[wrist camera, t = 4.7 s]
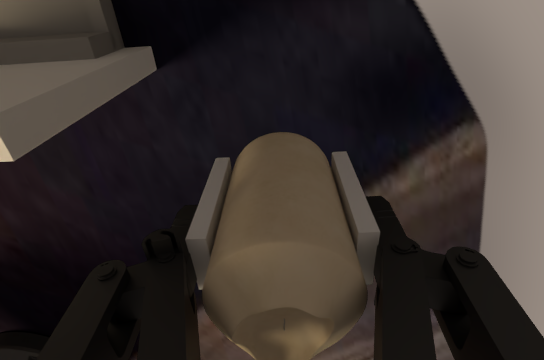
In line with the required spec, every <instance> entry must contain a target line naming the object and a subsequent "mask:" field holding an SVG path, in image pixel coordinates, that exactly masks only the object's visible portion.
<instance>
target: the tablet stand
mask: <svg viewBox="0 0 544 360" xmlns="http://www.w3.org/2000/svg"><path fill="white" fill-rule="evenodd" d="M156 70H157V68H156V64H155V60H154V56H153V52H152V48H151V46H144V47H129V48H125V46H124V43H123V40H122V36H121V33H120V29H119V26H118V22H117V19H116V16H115V12H114V9H113V5H112V2H111V0H0V162H6V161H15V160H17V159H18V158H20V157H21V156H23V155H24V154H26V153H28V152H29V151H31V150H32V149H34V148H35V147H37V146H38V145H40V144H42V143H43V142H45V141H46V140H48V139H49V138H51V137H53V136H54V135H56V134H57V133H59V132H60V131H62V130H63V129H65V128H67V127H68V126H70V125H71V124H73V123H74V122H76V121H78V120H79V119H81V118H82V117H84V116H85V115H87V114H88V113H90V112H92V111H93V110H95V109H96V108H98V107H99V106H101V105H103V104H104V103H106V102H107V101H109V100H110V99H112V98H113V97H115V96H117V95H118V94H120V93H121V92H123V91H124V90H126V89H128V88H129V87H131V86H132V85H134V84H135V83H137V82H138V81H140V80H142V79H143V78H145V77H146V76H148V75H149V74H151V73H153V72H154V71H156Z"/></svg>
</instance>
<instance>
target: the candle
mask: <svg viewBox="0 0 544 360" xmlns="http://www.w3.org/2000/svg"><path fill="white" fill-rule="evenodd" d="M367 294H368V292H367V287H366V283H365V279H364V276H363V273H362V269H361V266H360V263H359V259H358V256H357V253H356V249H355V246H354V243H353V240H352V236H351V233H350V230H349V226H348V223H347V220H346V217H345V213H344V210H343V207H342V203H341V200H340V197H339V193H338V190H337V187H336V184H335V180H334V177H333V174H332V171H331V168H330V165H329V162H328V160H327V158H326V156H325V155H324V153H323V152H322V151H321V149H320V148H319V147H318V146H317V145H316V144H315V143H313V142H312V141H311V140H309V139H307V138H306V137H303V136H301V135H298V134H294V133H288V132H276V133H270V134H266V135H263V136H261V137H259V138H257V139H255V140H253V141H252V142H251V143H249V144H248V145H247V146H246V147H245V148H244V149H243V151H242V152H241V153H240V155H239V156H238V158H237V160H236V162H235V165H234V168H233V171H232V175H231V179H230V183H229V187H228V191H227V195H226V199H225V202H224V206H223V210H222V214H221V218H220V222H219V226H218V230H217V234H216V237H215V241H214V245H213V249H212V253H211V257H210V261H209V265H208V269H207V273H206V276H205V281H204V285H203V289H202V301H203V306H204V308H205V311H206V313H207V315H208V316H209V318H210V319H211V321H212V322H213V323H214V324H215V326H216V327H217V328H218V329H219V330H220V331H221V332H222V333H223V334H224V335H225V336H226V337H227V338H228V339H229V340H231V341H232V342H233V343H235V344H236V345H237V346H239V347H240V348H242V349H243V350H245V351H246V352H247V353H249V354H250V355H251V356H252V357H253V358H254V359H255V360H310V359H311V358H312V357H314V356H315V355H316V354H318V353H320V352H321V351H323V350H325V349H326V348H328V347H330V346H332V345H333V344H335V343H336V342H338V341H339V340H340V339H341V338H342V337H344V336H345V335H346V334H347V333H348V332H349V331H350V330H351V329H352V328H353V327H354V325H355V324H356V323H357V322H358V320H359V319H360V317H361V316H362V314H363V312H364V310H365V307H366V304H367Z"/></svg>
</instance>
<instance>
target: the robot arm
mask: <svg viewBox="0 0 544 360" xmlns="http://www.w3.org/2000/svg"><path fill="white" fill-rule="evenodd" d="M331 171H332V174H333V177H334V180H335V184H336V187H337V190H338V193H339V197H340V200H341V203H342V207H343V210H344V213H345V217H346V220H347V223H348V226H349V230H350V233H351V236H352V240H353V243H354V246H355V249H356V253H357V256H358V259H359V263H360V266H361V269H362V273H363V276H364V279H365V283H366V285H369V284H373V279H374V276H375V279H376V282H377V288H376V295H375V301H374V305H375V336H374V360H436V354H435V346H434V339H433V332H432V324H431V317H430V309H429V308H432V309H433V311H434V314H435V316H436V318H437V321H438V323H439V325H440V327H441V330H442V332H443V334H444V337H445V339H446V341H447V343H448V346H449V348H450V350H451V353H452V355H453V357H454V359H455V360H544V338H543V336H542V335H541V333H540V332H539V331H538V329H537V328H536V327H535V325H534V324H533V322H532V321H531V319H530V318H529V317H528V315H527V314H526V313H525V311H524V310H523V308H522V307H521V306H520V304H519V303H518V301H517V300H516V299H515V297H514V296H513V295H512V293H511V292H510V290H509V289H508V288H507V286H506V285H505V283H504V282H503V281H502V279H501V278H500V277H499V275H498V274H497V272H496V271H495V270H494V268H493V267H492V265H491V264H490V263H489V261H488V260H487V259H486V258H485V257H484V256H483V255H482V254H480V253H479V252H477V251H475V250H473V249H470V248H467V247H452V248H451V249H449V250H448V251H447V253H446V255H442V254H437V253H431V252H428V251H424V250H422V249H421V248H420V246H419V245H418V244H417V243H416V242H415V241H413V240H411V239H410V238H407V236H406V234H405V232H404V230H403V228H402V226H401V224H400V222H399V221H398V219H397V217H396V215H395V213H394V211H393V209H392V207H391V205H390V203H389V202H388V201H387V200H385V199H384V198H383V197H382V196H370V197H365V195H364V192H363V190H362V188H361V185H360V183H359V181H358V178H357V176H356V173H355V171H354V169H353V166H352V164H351V162H350V159H349V157H348V155H347V152H332V164H331ZM231 175H232V170H231V163H230V157H229V158H216V159H215V162H214V165H213V167H212V170H211V173H210V175H209V178H208V180H207V183H206V186H205V188H204V191H203V194H202V196H201V199H200V202H199V204H198V205H185V206H184V207H183V208H182V209H181V210H180V211H179V212H178V213H177V215H176V217H175V221H174V222H173V224H172V227H171V228H170V229H160V230H157V231H154V232H152V233H151V234H149V235H148V236H147V237H146V238H145V239H144V240H143V242H142V247H143V250H144V252H145V255H146V258H147V260H148V261H146V262H143V263H140V264H137V265H133V266H129V267H126V265H125V263H124V262H122V261H121V260H111V261H106V262H104V263H102V264H100V265H98V266H97V267H96V268H94V269H93V270H92V271H91V273H90V274H89V275H88V277H87V278H86V280H85V282H84V283H83V285H82V286H81V288H80V290H79V291H78V293H77V294H76V296H75V298H74V299H73V301H72V302H71V304H70V306H69V307H68V309H67V310H66V312H65V314H64V315H63V317H62V319H61V320H60V322H59V323H58V325H57V327H56V328H55V330H54V331H53V333H52V335H51V336H50V338H49V337H46V336H42V335H38V334H33V333H25V332H6V333H1V334H0V360H129V358H130V355H131V353H132V350H133V347H134V345H135V342H136V339H137V336H138V334H139V331H140V337H139V347H138V356H137V360H200V347H199V333H198V319H197V304H196V296H195V292H194V288H195V285H196V281H197V284H198V288H199V290H202V289H203V285H204V281H205V276H206V273H207V269H208V265H209V261H210V257H211V253H212V249H213V245H214V241H215V237H216V234H217V230H218V226H219V222H220V218H221V214H222V210H223V206H224V202H225V199H226V195H227V191H228V187H229V183H230V179H231Z"/></svg>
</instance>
